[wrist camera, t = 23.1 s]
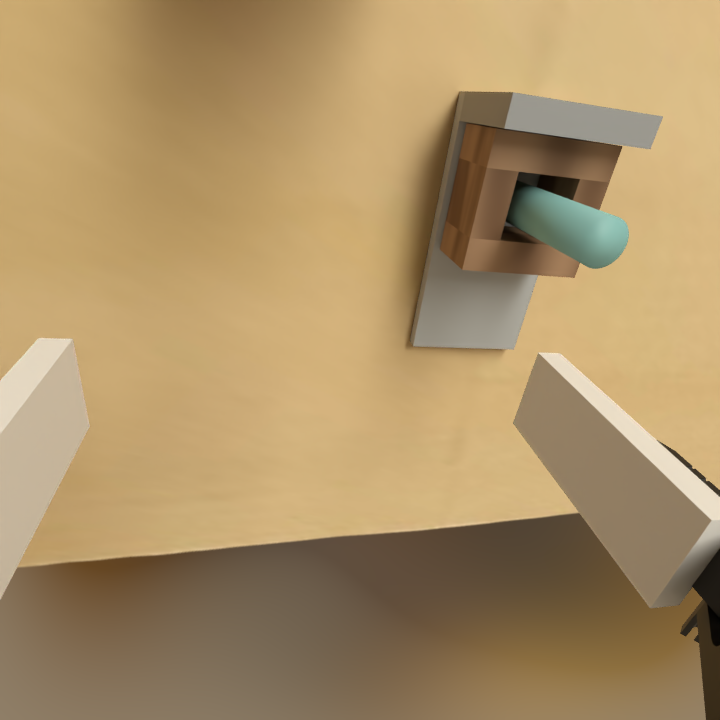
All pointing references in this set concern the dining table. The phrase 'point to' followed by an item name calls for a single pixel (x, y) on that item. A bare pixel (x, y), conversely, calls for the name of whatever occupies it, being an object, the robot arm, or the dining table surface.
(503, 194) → the walnut block
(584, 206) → the teal dowel
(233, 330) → the dining table surface
